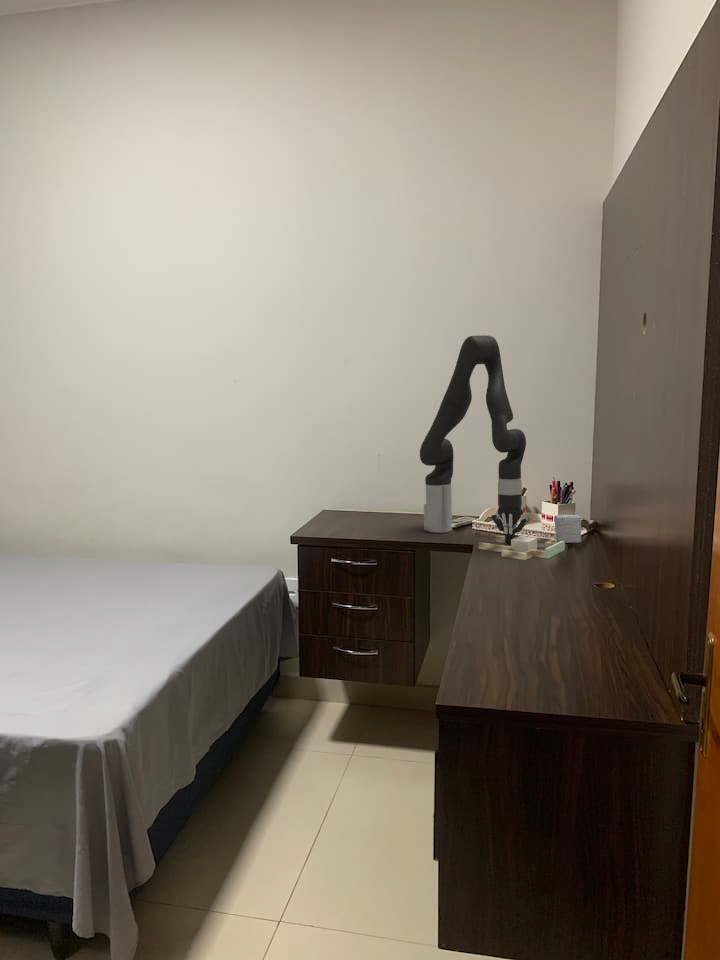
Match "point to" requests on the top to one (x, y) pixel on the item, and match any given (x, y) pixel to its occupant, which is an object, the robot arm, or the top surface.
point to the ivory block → (524, 543)
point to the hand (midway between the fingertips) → (510, 544)
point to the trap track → (546, 543)
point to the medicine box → (568, 528)
